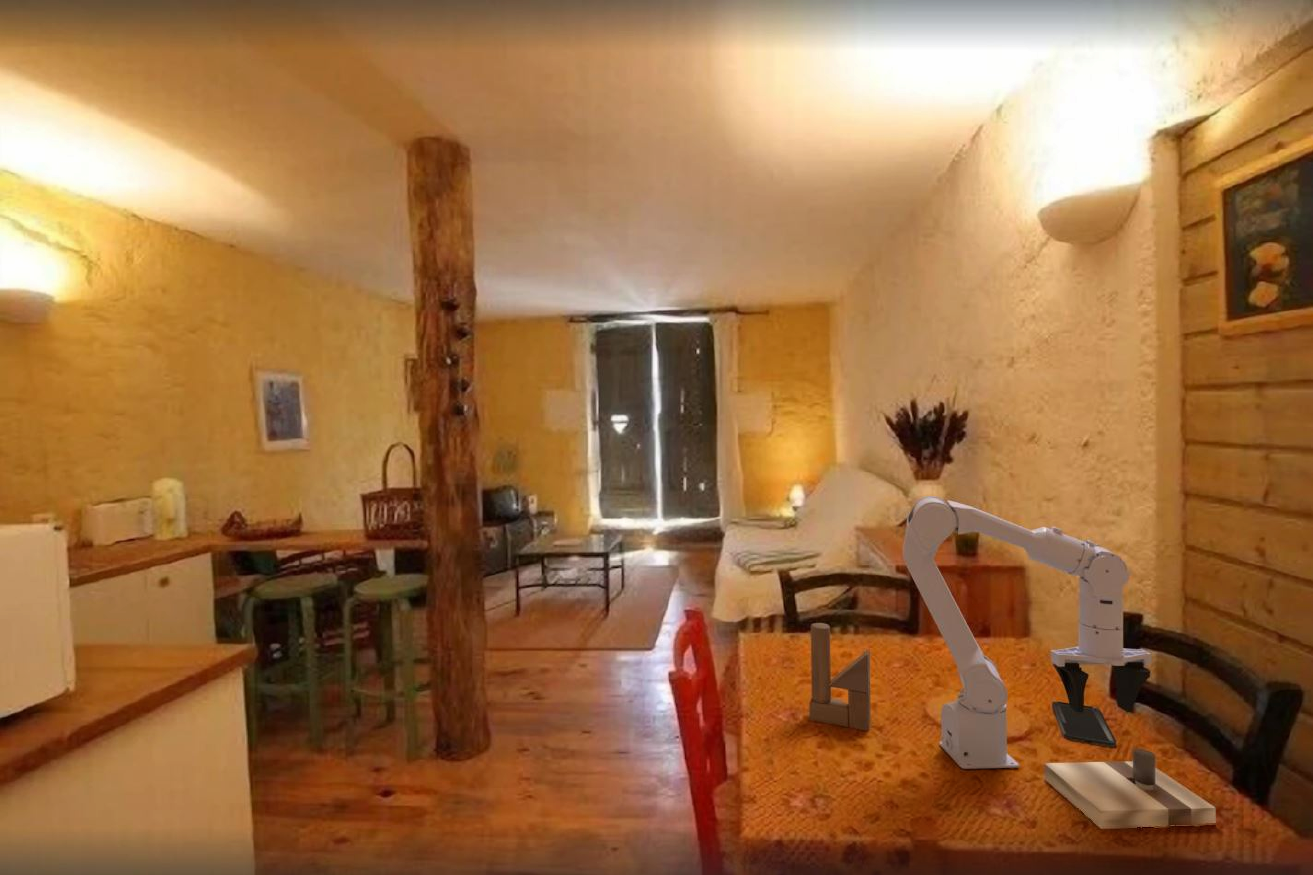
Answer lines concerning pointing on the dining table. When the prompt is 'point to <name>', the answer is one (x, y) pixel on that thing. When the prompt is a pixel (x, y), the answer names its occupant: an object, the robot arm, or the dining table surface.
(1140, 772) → the grey cylinder
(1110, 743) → the phone
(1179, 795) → the board
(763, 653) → the dining table surface
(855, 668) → the wooden block
